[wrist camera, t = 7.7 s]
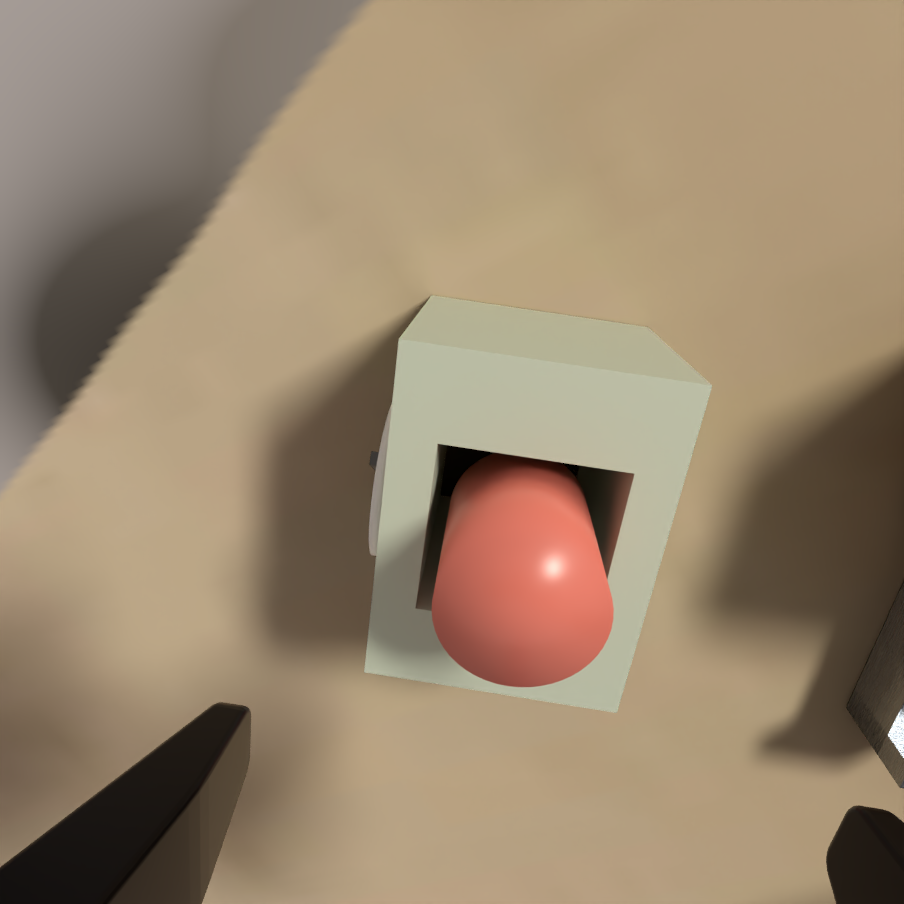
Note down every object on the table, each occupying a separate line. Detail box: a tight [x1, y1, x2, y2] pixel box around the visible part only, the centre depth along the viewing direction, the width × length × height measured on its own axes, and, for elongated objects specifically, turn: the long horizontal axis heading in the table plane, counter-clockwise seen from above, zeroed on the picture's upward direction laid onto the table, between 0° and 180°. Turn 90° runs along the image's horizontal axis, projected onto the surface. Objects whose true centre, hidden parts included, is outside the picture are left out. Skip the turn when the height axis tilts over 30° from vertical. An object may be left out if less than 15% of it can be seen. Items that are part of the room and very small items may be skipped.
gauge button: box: [432, 453, 614, 687], centre depth 13 cm, size 3×3×4 cm
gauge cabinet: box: [364, 295, 712, 713], centre depth 17 cm, size 8×6×6 cm
